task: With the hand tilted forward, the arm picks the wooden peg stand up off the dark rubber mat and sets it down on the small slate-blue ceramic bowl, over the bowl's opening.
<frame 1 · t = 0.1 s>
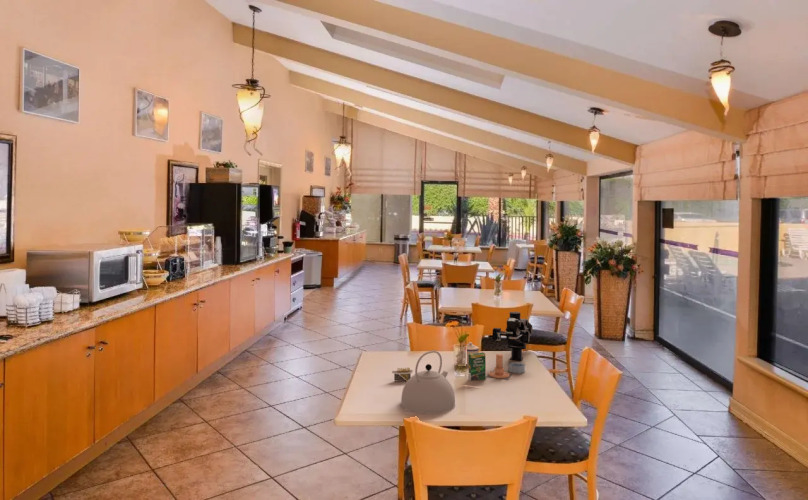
hand: (507, 339, 289), 17 cm above the table, tool horizontal, fingers open, 9 cm apart
kettle: (429, 404, 242), on the table
wooden peg stand: (499, 375, 281), point 1 cm above the table, touching mat
teacup with lid: (467, 364, 303), on the table
mat: (499, 376, 281), on the table
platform: (402, 382, 273), on the table
bowl: (516, 372, 288), on the table
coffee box: (476, 380, 275), on the table
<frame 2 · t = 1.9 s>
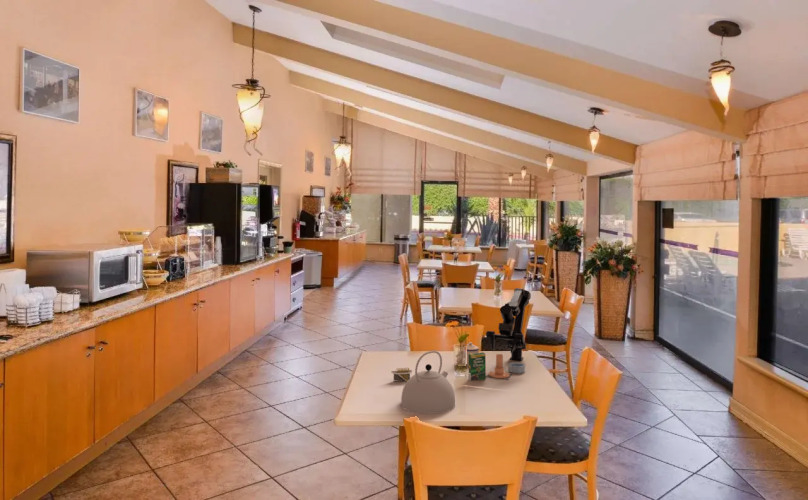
hand: (501, 351, 284), 11 cm above the table, tool tilted 45°, fingers open, 9 cm apart
nothing on the table moved.
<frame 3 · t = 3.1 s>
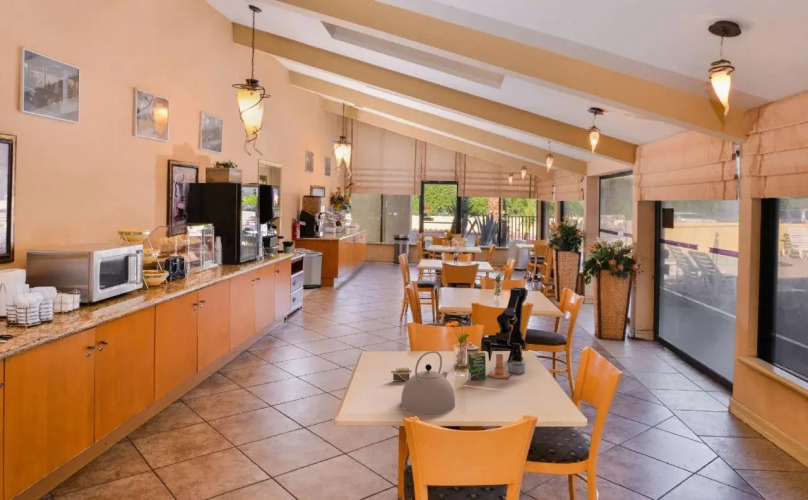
hand: (498, 361, 279), 8 cm above the table, tool tilted 45°, fingers open, 9 cm apart
nothing on the table moved.
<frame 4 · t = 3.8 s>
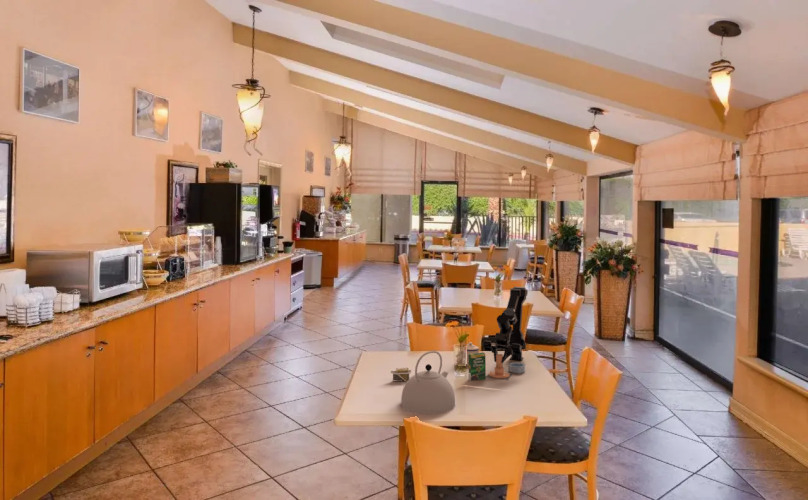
hand: (498, 362, 279), 8 cm above the table, tool tilted 45°, fingers closed on wooden peg stand, 3 cm apart
wooden peg stand: (499, 375, 281), point 1 cm above the table, touching gripper, mat
everything else where it was.
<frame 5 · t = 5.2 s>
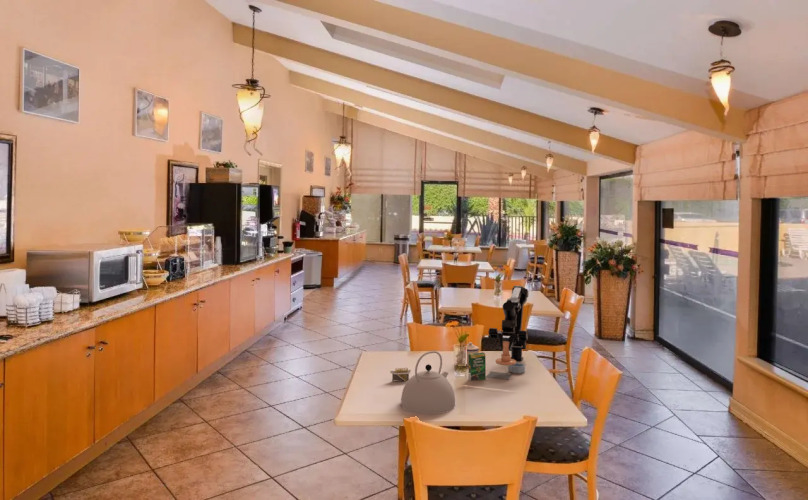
hand: (505, 349, 281), 13 cm above the table, tool tilted 45°, fingers closed on wooden peg stand, 3 cm apart
wooden peg stand: (505, 362, 283), point 7 cm above the table, touching gripper
everything else where it was.
when the fingers open (12 cm above the table, at t = 6.4 s): wooden peg stand stays where it is, resting on bowl.
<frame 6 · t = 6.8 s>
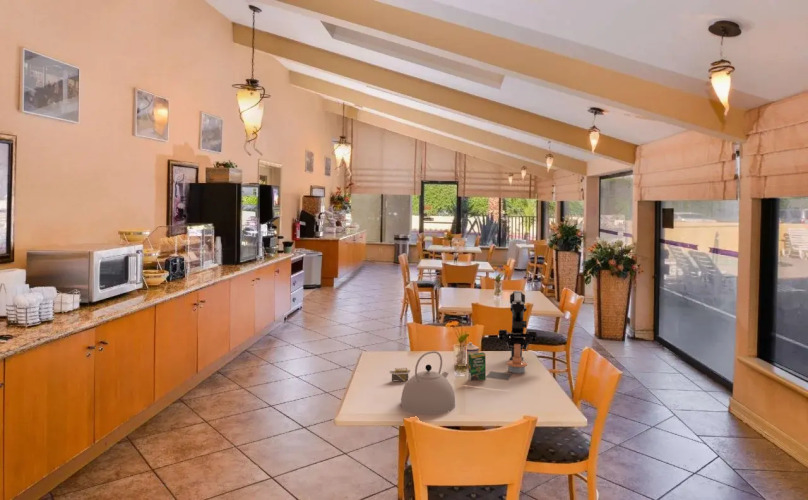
hand: (517, 350, 286), 12 cm above the table, tool tilted 45°, fingers open, 7 cm apart
wooden peg stand: (516, 364, 288), point 4 cm above the table, touching bowl
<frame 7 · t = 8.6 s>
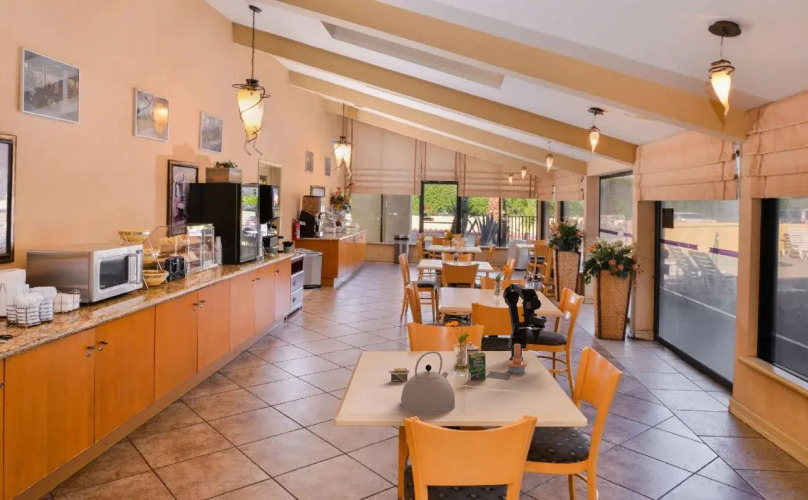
hand: (531, 342, 291), 14 cm above the table, tool tilted 15°, fingers open, 9 cm apart
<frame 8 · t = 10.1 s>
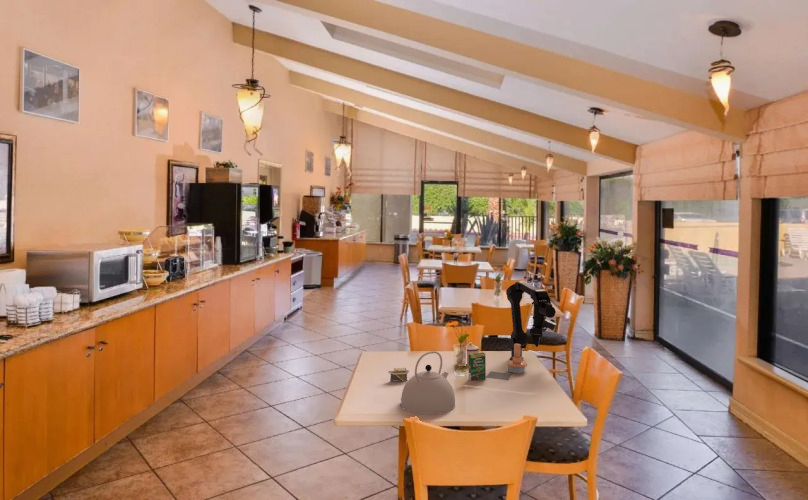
hand: (538, 344, 292), 13 cm above the table, tool pointing down, fingers open, 9 cm apart
at the end: wooden peg stand 0.1 cm off-centre on the bowl, point 3.9 cm above the bowl's base; wooden peg stand tilted 0°; the gripper is holding nothing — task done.
